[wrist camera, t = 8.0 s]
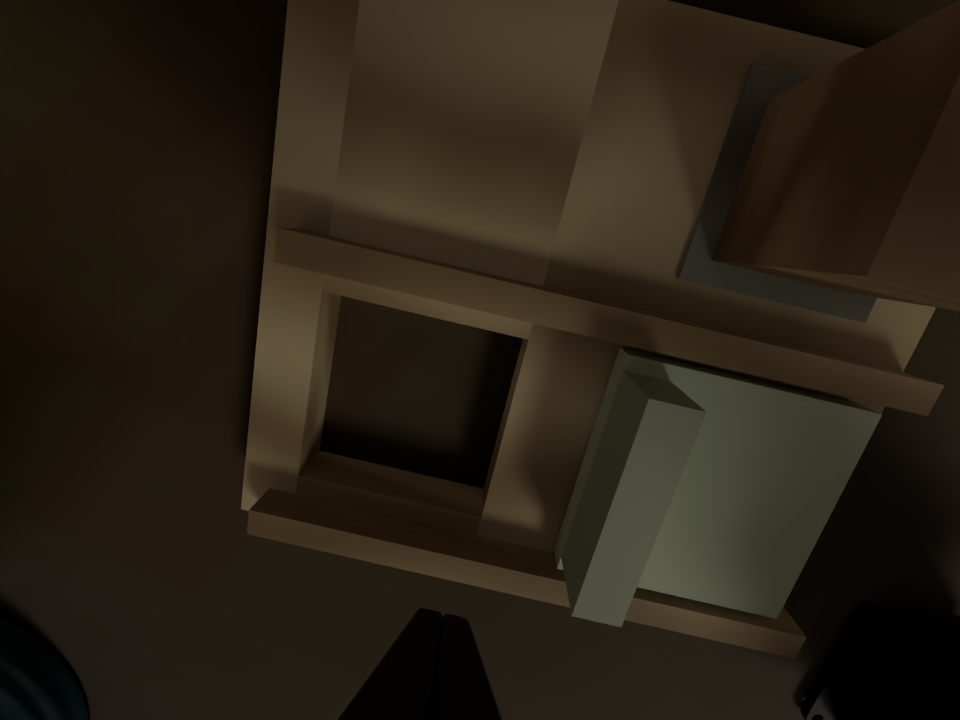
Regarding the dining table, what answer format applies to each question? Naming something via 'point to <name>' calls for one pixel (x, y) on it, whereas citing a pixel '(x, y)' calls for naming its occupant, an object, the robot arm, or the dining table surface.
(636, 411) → the lid
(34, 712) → the canister
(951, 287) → the walnut block
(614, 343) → the puzzle board
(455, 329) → the dining table surface
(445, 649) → the robot arm
